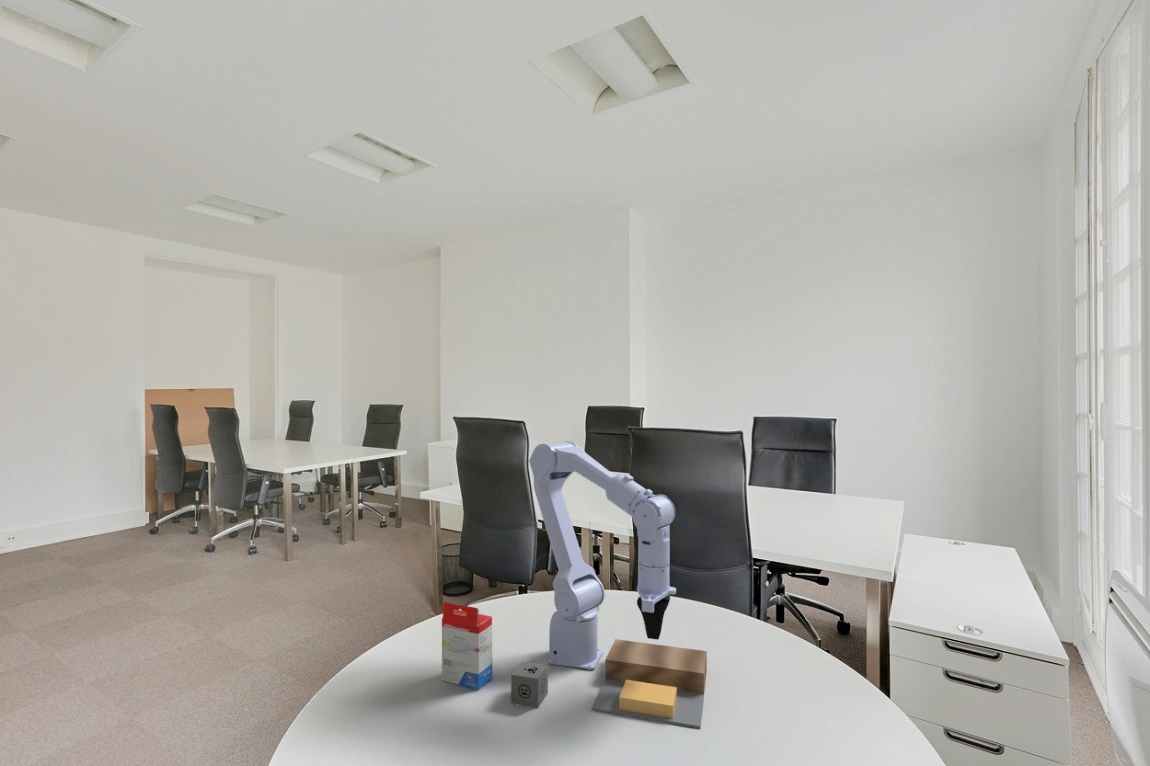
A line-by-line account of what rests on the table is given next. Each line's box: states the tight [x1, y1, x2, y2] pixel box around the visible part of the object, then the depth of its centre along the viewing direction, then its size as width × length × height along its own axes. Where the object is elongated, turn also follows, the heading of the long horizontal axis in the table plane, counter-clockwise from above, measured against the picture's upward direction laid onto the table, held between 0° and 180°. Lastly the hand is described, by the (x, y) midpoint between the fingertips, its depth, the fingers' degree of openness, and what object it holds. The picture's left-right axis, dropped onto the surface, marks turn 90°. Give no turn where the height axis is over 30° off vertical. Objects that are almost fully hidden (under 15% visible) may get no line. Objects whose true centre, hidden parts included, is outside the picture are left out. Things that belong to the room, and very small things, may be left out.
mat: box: [591, 678, 705, 729], centre depth 96 cm, size 18×11×1 cm, turn 74°
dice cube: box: [510, 661, 549, 709], centre depth 97 cm, size 5×5×5 cm
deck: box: [604, 638, 708, 695], centre depth 105 cm, size 18×9×4 cm, turn 74°
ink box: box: [441, 601, 493, 691], centre depth 103 cm, size 8×5×15 cm, turn 65°
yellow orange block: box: [619, 680, 677, 718], centre depth 95 cm, size 9×6×2 cm, turn 74°
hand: (653, 637), depth 101 cm, fingers closed
